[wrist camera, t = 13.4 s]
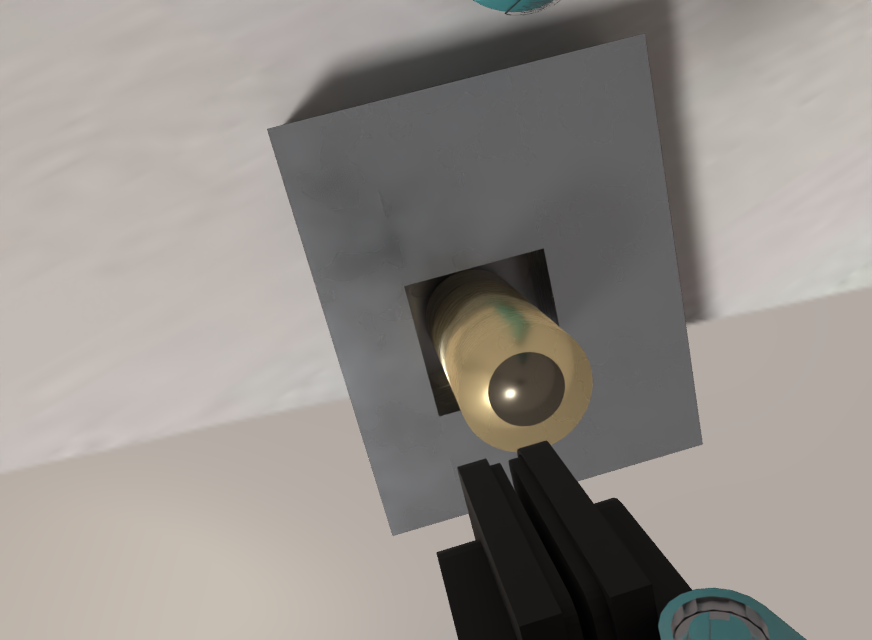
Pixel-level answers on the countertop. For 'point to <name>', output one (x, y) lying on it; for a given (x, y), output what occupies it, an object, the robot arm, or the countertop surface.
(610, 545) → the robot arm
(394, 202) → the jig
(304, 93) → the countertop surface
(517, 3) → the beverage bottle
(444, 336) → the bushing
